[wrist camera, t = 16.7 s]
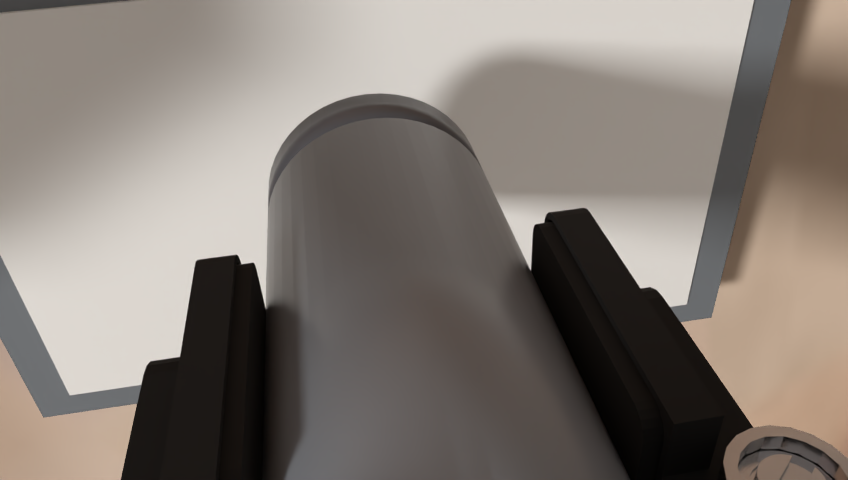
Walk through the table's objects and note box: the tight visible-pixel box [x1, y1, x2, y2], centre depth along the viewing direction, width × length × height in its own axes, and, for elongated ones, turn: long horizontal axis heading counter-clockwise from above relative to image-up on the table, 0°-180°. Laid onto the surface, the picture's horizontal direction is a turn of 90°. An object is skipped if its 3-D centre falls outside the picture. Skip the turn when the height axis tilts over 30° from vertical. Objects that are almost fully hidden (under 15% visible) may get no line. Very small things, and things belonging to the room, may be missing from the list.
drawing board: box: [0, 0, 791, 417], centre depth 18 cm, size 20×12×2 cm, turn 93°
